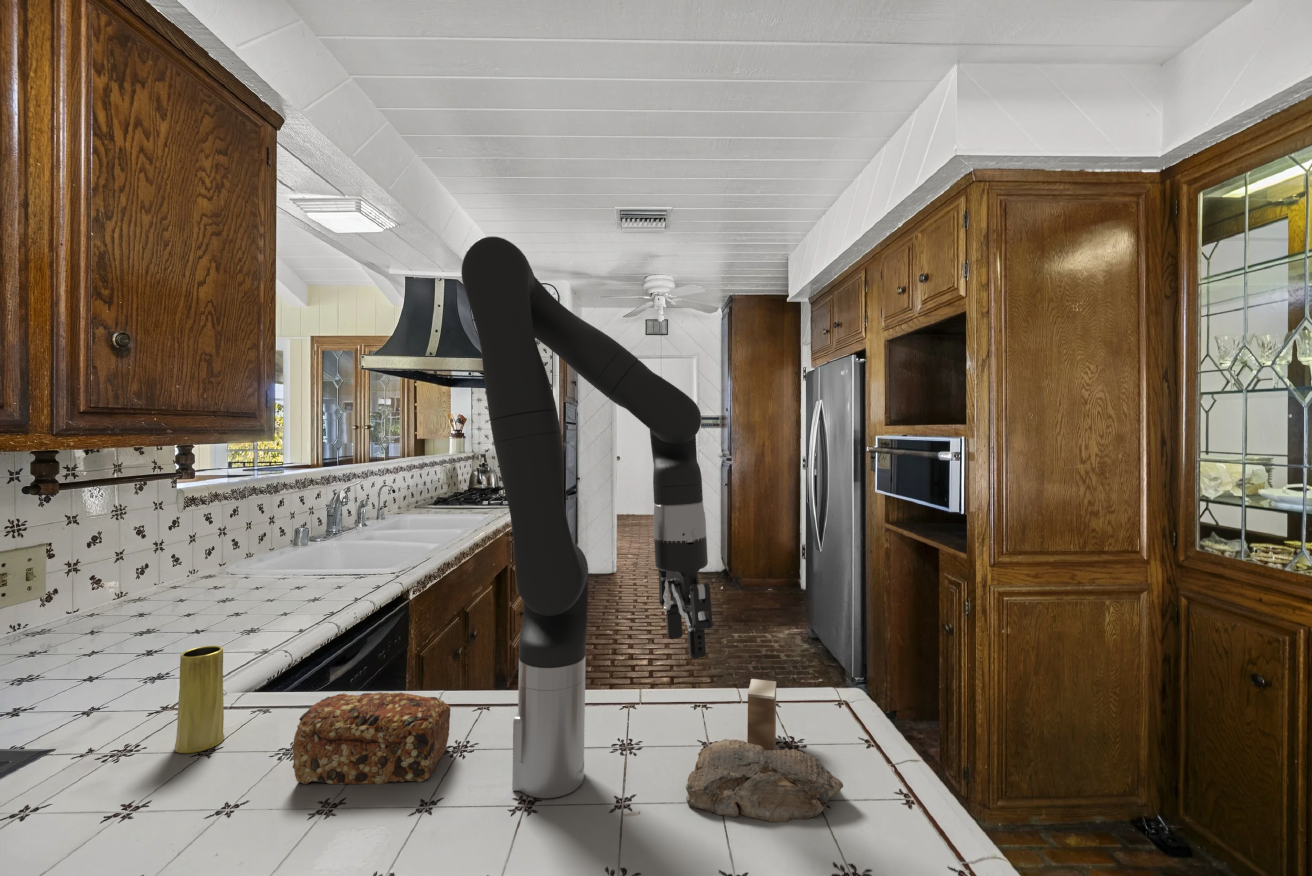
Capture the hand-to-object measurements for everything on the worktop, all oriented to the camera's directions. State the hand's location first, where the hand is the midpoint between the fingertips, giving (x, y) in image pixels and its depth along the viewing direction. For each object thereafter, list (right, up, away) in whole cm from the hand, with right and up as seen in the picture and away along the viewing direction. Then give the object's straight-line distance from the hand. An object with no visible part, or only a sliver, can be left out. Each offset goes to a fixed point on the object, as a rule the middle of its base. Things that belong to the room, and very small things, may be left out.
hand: (685, 647), depth 84 cm
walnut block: (+12, -18, +9) cm, 24 cm away
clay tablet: (+11, -19, -4) cm, 22 cm away
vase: (-75, -18, +7) cm, 77 cm away
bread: (-45, -18, +1) cm, 48 cm away
